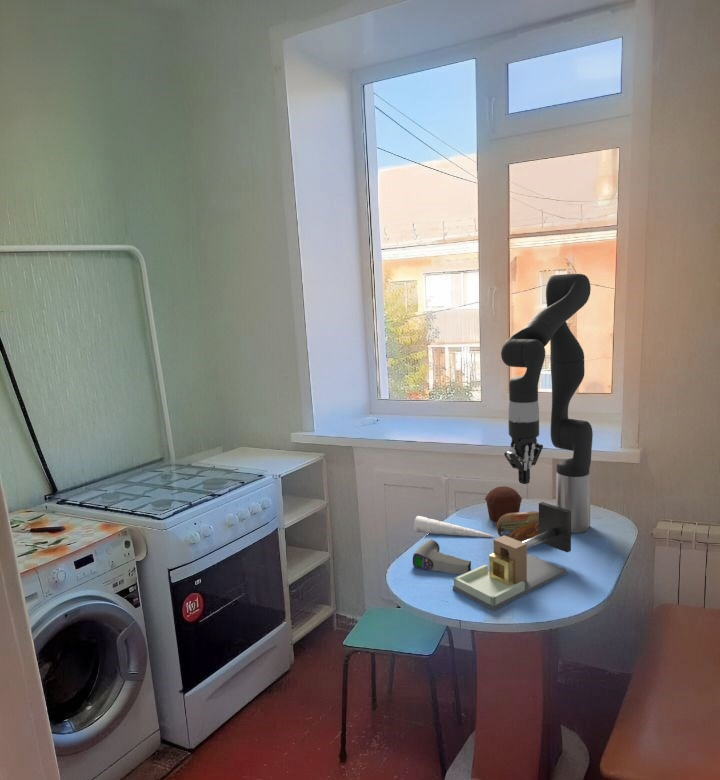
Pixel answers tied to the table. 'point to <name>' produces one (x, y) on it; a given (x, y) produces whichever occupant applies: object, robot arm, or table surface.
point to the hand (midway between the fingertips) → (524, 483)
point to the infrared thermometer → (438, 560)
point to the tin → (519, 525)
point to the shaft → (552, 528)
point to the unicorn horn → (444, 528)
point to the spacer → (508, 569)
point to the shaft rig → (494, 593)
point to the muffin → (502, 502)
